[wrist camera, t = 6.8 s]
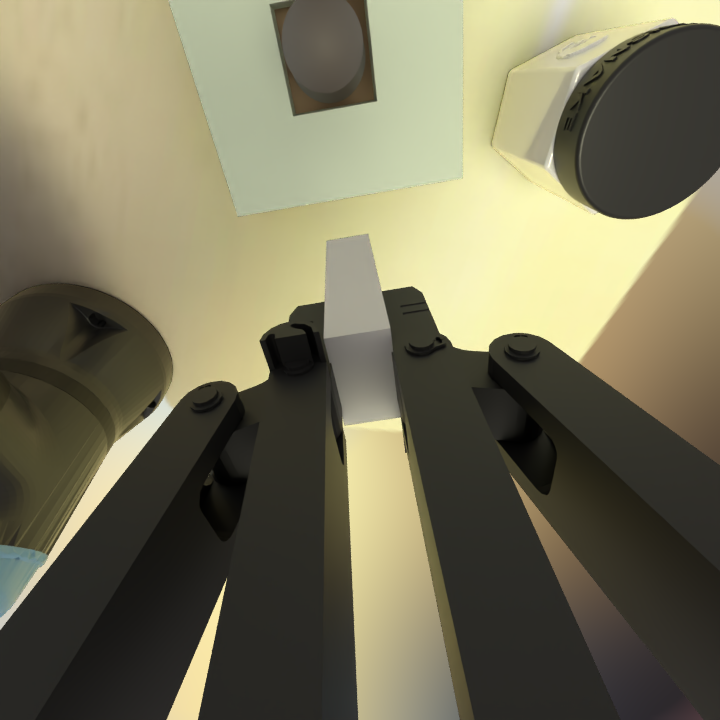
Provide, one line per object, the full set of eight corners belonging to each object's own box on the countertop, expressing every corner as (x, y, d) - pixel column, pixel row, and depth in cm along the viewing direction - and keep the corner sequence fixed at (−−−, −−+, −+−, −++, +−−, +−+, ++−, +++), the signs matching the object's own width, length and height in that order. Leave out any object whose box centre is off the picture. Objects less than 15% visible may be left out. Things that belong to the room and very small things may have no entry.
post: (247, 205, 31) (196, 278, 20) (156, -95, 22) (-40, -286, 10) (450, 170, 30) (521, 224, 19) (446, -155, 21) (578, -429, 10)
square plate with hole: (243, 208, 28) (237, 216, 26) (145, -106, 19) (128, -123, 18) (455, 172, 27) (462, 178, 26) (452, -170, 19) (463, -193, 17)
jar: (610, 12, 25) (782, -30, 16) (619, 141, 30) (758, 172, 20) (475, 84, 27) (555, 87, 18) (502, 196, 32) (578, 249, 22)
